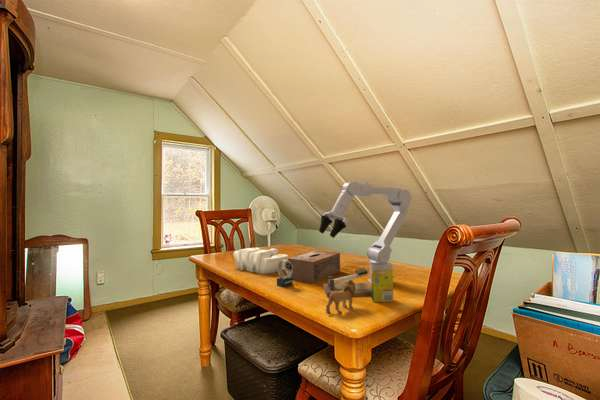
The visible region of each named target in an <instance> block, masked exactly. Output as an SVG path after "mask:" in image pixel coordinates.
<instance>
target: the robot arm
mask: <svg viewBox="0 0 600 400" xmlns="http://www.w3.org/2000/svg"><path fill="white" fill-rule="evenodd" d="M340 188H341V192H340V194H339V196H338V197H337V200H336V201H335V204H334V205H333V207H332V209H331V210H329V211H327V212H326V211H324V212H323V214H322V215H321V216H320V226H319V230H318V232H319V233H321V234H324V233H325V232H326V230H327V229H328V227H329V226H330V224H332V223H333V222H334V223H333V226H332V228H331V231H330V233H329V236H330V237H331V238H333V239H334V238H335V237H336V236H337V235H338V234H339V233H340V232H341V231H343V230H344V229H345V228H347V224H348V223H349V221H350V220H349V218H347V217H345V214H346V212H347V211H348V209H349V207H350V205H351V203H352V201H353V199H354V198H355V196H356V197H370V196H372V195H373V194H374V195H382V196H384V197H385V198H386V199H387V201H388V203H389V204H390V206H391V207H392V209H393V213H392V216H391V217H390V219H389V220H388V222H387V224H386V226H385V227H384V229H383V231H382V232H381V235H380V236H379V239H378V240H376V241H375V242H372V245H371V246H370V247H368V248H367V250H366V256H367V258H368V259H369V276H370V277H369V278H367V279H366V280H367V281H368V282H369V283H370V284H371V285H372V283H371V274H373V270H392V275H393V273H394V271H393V266H392V263H391V262H389V260H390V258H391V253H392V250H393V249H392V248H391V244H392V243H393V241H394V239H395V237H396V235H397V233H398V231H399V230H400V228H401V226H402V225H403V222H404V221H405V219H406V217H407V216H408V213H409V207H410V203H411V202H412V200H413V199H412V195H411V193H410V191H409V190H407V189H406V188H405V189H402V188H399V187H392V186H391V187H388V186H373V185H372V184H371V183H369V182H368V181H364V182H358V181H350V182H346V183H344V184H343V185H341V187H340ZM333 220H334V221H333ZM379 273H387V272H384V271H382V272H379ZM393 276H394V275H393ZM393 285H394V282H393Z"/></svg>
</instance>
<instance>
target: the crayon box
mask: <svg viewBox="0 0 600 400" xmlns="http://www.w3.org/2000/svg"><path fill="white" fill-rule="evenodd" d="M382 271H384V272H387V273H379V272H382ZM371 283H372V284H371ZM371 283H370V284H371V287H372V296H371V300H372V301H373V302H374V303H380V302H381V303H383V302H384V303H385V302H387V303H389V302H392V303H393V302H394V301H395V300H394V284H393V283H394V275H392V270H373V274H371Z"/></svg>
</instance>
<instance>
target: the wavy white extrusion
mask: <svg viewBox="0 0 600 400" xmlns="http://www.w3.org/2000/svg"><path fill="white" fill-rule="evenodd" d="M232 256H233V259H234V263H235V268H236V269H237V270H240V271H245V270H246V272H250V273H253V272H254V273H256V274H261V275H266V274H267V275H268V274H274V273H278V270H277V265H278V262H279V261H281V260H288V258H289V255H288V254H285V253H283V254H278V248H270V249H261V248H260V247H248V248H241V249H237V250H236V251H234V252H233V254H232ZM281 267H282V269H284V268H283V262H282V264H281Z"/></svg>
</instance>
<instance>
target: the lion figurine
mask: <svg viewBox="0 0 600 400" xmlns="http://www.w3.org/2000/svg"><path fill="white" fill-rule="evenodd" d="M343 282H344V283H345V284H344V289H343V290H342V291H334V292H332V293H331V294H330V296H329V297H328V302H327V304H326V308H325V312H326V313H327V315H330V314H331V313H330V312H331V311H330V306H331V305H332V304H333V303H334V305H335V310H336V312H337V313H338V314H342V311H341V310H339V306H340V302H341V303H342V307H343V308H346V307H347V303H346V302H347V301H348V308H349V309H354V306H352V305H353V298H355V296H354V295H355V283H356V282H354V281H353V279H350V280H346V281H343Z"/></svg>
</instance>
